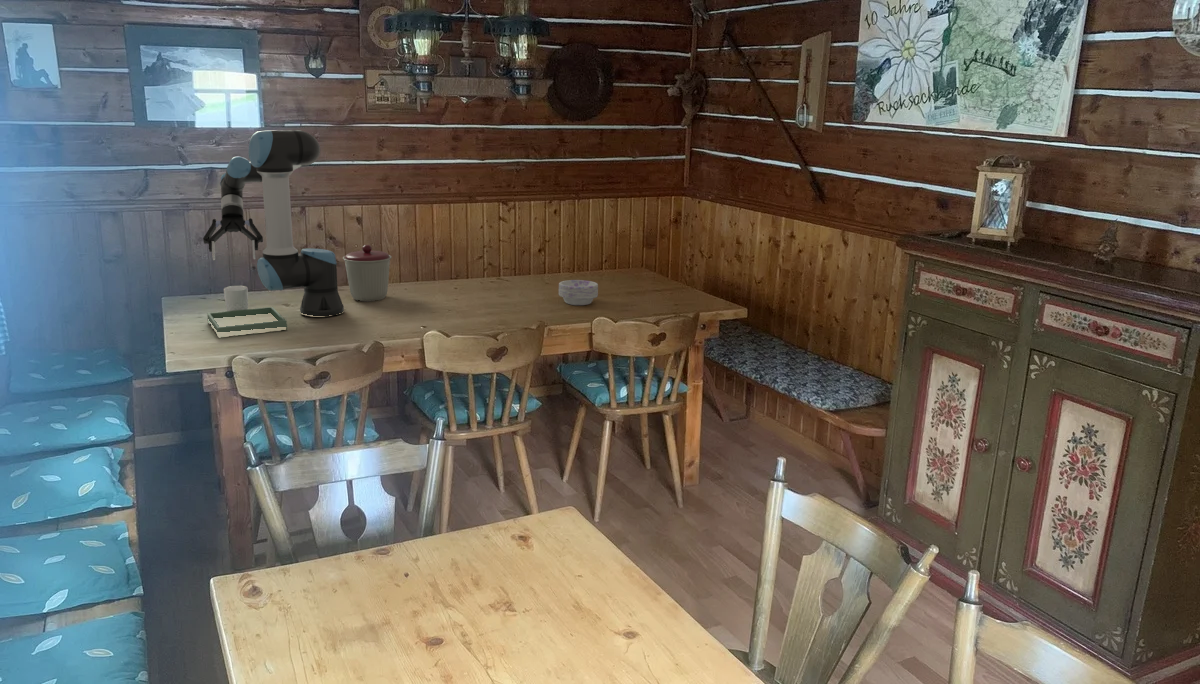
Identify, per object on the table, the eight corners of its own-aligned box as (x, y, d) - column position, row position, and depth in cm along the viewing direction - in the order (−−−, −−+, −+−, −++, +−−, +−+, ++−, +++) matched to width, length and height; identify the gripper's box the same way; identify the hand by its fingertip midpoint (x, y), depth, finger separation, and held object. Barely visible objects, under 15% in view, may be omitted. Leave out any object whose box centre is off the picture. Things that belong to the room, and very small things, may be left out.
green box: (273, 316, 326) (272, 306, 325) (287, 330, 309) (286, 320, 308) (208, 323, 316) (207, 313, 315) (218, 338, 298) (217, 327, 297)
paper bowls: (592, 297, 365) (592, 278, 363) (602, 306, 351) (602, 286, 349) (554, 299, 361) (554, 279, 359) (563, 308, 347) (563, 287, 345)
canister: (342, 304, 345) (338, 249, 340) (348, 293, 363) (345, 240, 357) (391, 304, 348) (388, 249, 342) (395, 293, 365) (393, 240, 359)
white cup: (221, 316, 325) (218, 288, 322) (239, 311, 331) (236, 284, 329) (236, 319, 321) (234, 291, 319) (254, 314, 328) (252, 287, 325)
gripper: (268, 215, 348) (271, 262, 338) (197, 216, 340) (197, 264, 331) (267, 203, 342) (270, 250, 332) (194, 204, 334) (195, 253, 324)
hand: (234, 257), depth 331 cm, fingers open, 13 cm apart
